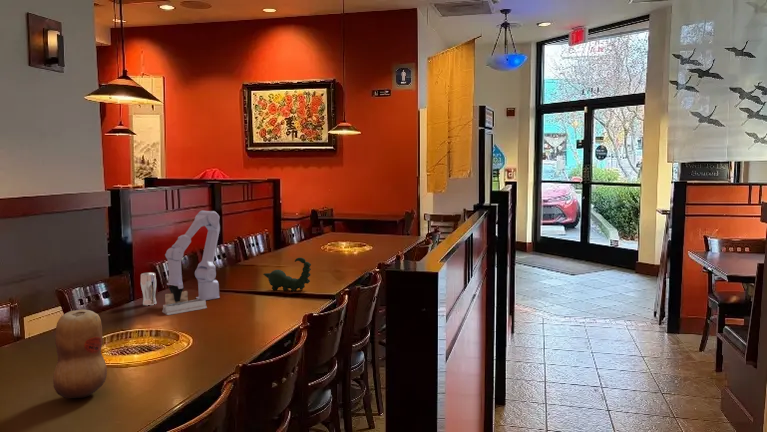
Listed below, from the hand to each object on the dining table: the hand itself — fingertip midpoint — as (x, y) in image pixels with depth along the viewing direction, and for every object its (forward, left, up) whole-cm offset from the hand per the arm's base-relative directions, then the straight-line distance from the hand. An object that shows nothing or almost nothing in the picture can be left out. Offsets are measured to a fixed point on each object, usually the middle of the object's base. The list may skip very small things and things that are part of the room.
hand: (176, 301), depth 260 cm
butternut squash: (+56, +87, -2) cm, 103 cm away
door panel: (0, 0, -2) cm, 2 cm away
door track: (0, +11, -2) cm, 11 cm away
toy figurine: (-55, +8, -2) cm, 56 cm away
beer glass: (+9, -12, -2) cm, 15 cm away
